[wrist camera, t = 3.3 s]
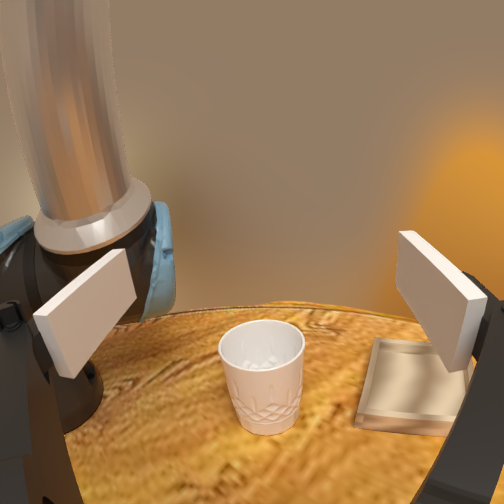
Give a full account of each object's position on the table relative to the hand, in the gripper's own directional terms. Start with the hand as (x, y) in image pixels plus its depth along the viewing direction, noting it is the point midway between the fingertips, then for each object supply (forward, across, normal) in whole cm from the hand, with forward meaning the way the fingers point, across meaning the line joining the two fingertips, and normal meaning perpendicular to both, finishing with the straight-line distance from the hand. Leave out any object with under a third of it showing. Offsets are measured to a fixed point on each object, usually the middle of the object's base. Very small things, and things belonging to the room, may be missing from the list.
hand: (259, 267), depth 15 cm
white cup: (+10, -2, -22) cm, 24 cm away
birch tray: (+12, +16, -22) cm, 29 cm away
